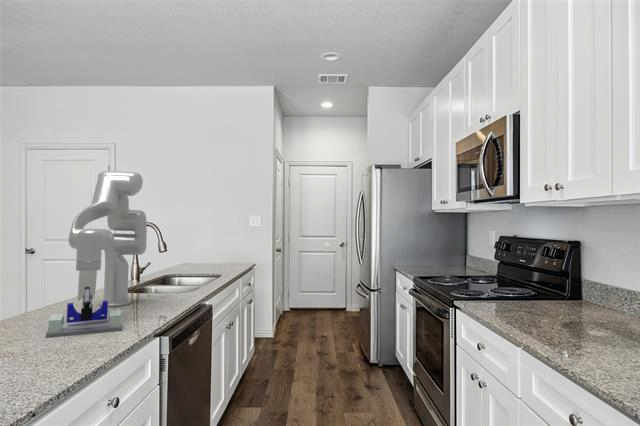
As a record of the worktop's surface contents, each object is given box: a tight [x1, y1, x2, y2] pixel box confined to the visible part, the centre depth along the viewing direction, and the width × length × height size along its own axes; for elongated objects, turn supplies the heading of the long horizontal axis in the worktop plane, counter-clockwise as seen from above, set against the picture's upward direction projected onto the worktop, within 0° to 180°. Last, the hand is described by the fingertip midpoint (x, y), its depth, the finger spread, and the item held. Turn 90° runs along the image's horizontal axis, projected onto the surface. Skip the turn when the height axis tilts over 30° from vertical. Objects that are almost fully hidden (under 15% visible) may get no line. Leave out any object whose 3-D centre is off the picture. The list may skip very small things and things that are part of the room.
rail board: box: [45, 308, 123, 339], centre depth 139 cm, size 12×22×5 cm, turn 118°
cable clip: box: [66, 300, 109, 324], centre depth 139 cm, size 12×4×6 cm, turn 118°
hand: (86, 317), depth 139 cm, fingers closed on cable clip, 4 cm apart
